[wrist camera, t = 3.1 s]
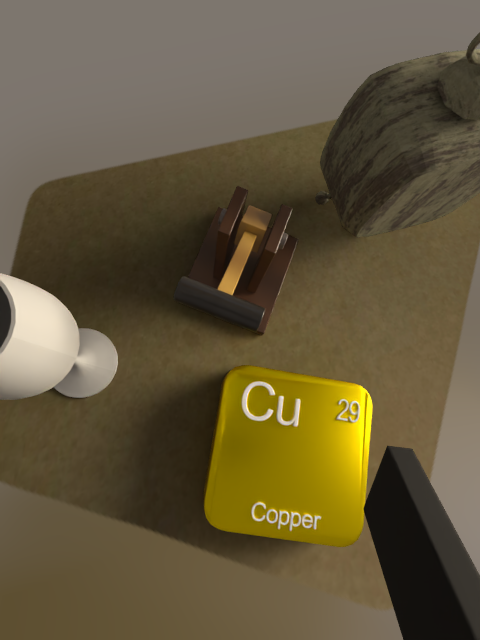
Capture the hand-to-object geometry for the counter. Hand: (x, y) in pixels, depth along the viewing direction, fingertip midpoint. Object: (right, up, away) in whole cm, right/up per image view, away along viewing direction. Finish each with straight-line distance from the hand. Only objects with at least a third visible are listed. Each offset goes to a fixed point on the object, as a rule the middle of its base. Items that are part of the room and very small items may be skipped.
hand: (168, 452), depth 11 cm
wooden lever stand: (+2, +10, +31) cm, 33 cm away
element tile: (+7, -9, +28) cm, 30 cm away
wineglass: (-14, 0, +28) cm, 31 cm away
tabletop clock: (+18, +17, +35) cm, 43 cm away
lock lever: (+2, +8, +18) cm, 20 cm away
